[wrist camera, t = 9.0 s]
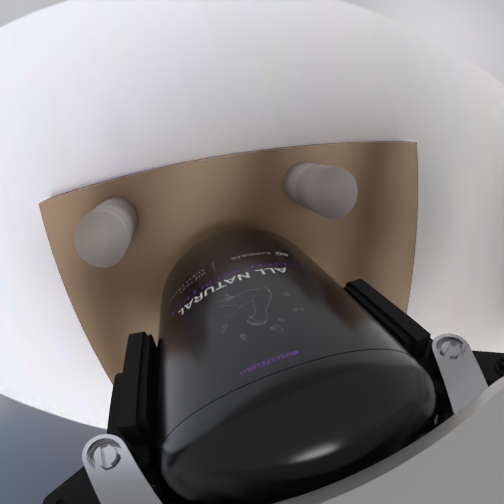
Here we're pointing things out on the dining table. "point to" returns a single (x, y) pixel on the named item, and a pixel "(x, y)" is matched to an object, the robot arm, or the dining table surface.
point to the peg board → (232, 226)
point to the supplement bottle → (274, 377)
